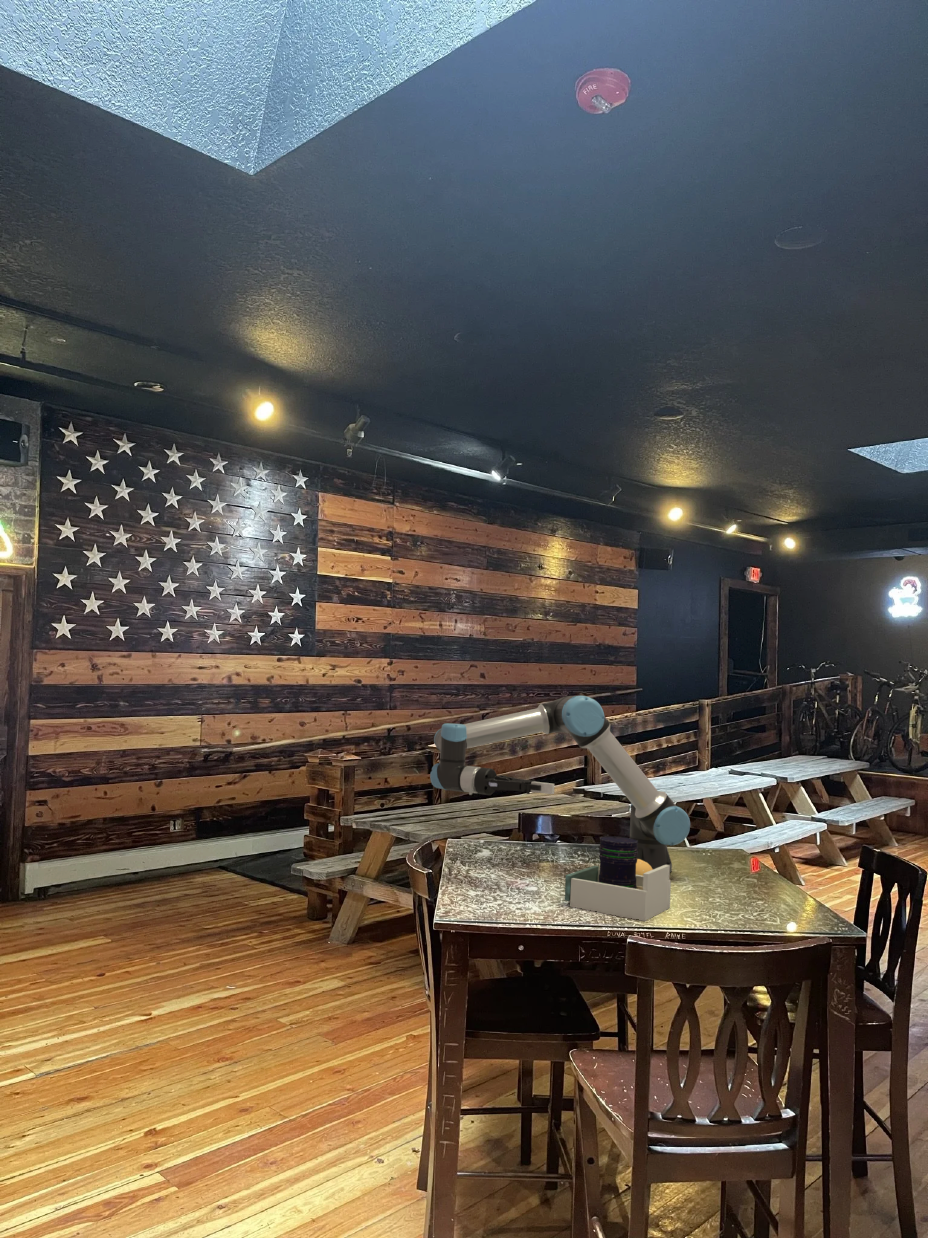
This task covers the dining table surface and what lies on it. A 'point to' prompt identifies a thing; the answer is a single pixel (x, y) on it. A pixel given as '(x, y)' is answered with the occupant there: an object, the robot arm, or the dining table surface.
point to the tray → (584, 874)
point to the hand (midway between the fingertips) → (553, 789)
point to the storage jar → (618, 861)
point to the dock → (625, 895)
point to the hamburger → (642, 867)
